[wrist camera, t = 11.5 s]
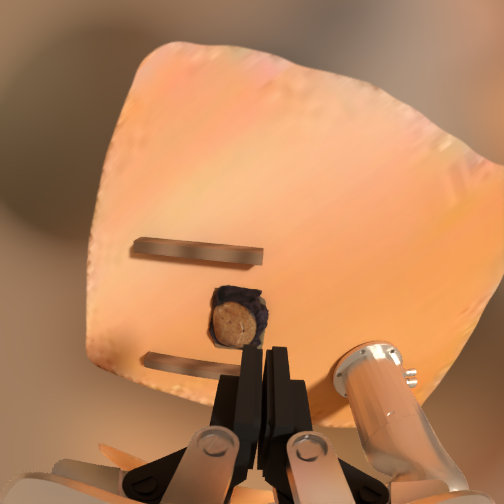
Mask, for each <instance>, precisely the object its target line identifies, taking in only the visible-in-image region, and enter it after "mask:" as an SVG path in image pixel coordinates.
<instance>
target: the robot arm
mask: <svg viewBox="0 0 504 504" xmlns="http://www.w3.org/2000/svg"><path fill="white" fill-rule="evenodd" d="M262 356H263V349H257V345H250V344H243V352H242V360H241V369H240V376H233V375H224V374H221V375H220V378H219V383H218V387H217V392H216V397H215V402H214V406H213V411H212V416H211V421H210V426H207V427H204V428H201V429H200V430H198V431H197V432H196V433H195V434H194V435H193V437H192V439H191V441H190V443H189V445H188V447H186V448H184V449H181V450H179V451H177V452H174V453H172V454H170V455H168V456H165V457H163V458H161V459H158V460H156V461H153V462H151V463H148V464H146V465H143V466H141V467H138V468H135V469H133V470H131V471H122V470H121V469H120V468H116V467H108V466H102V465H96V464H91V463H86V462H81V461H76V460H72V459H63V460H59V461H58V462H57V463H56V464H55V465H54V467H53V469H52V473H51V474H50V473H43V472H23V473H20V474H18V475H16V476H15V477H14V478H12V479H11V480H10V481H9V482H8V483H7V484H6V485H5V487H4V488H3V489H2V490H1V492H0V504H230V503H231V500H232V497H233V493H234V490H235V486H236V485H238V484H240V483H241V482H243V481H244V480H246V477H247V472H248V469H253V465H254V459H255V454H256V449H257V443H258V460H257V469H258V470H263V477H265V481H267V482H268V483H269V484H270V485H271V486H273V495H274V500H275V504H495V502H494V501H493V500H492V498H491V497H490V496H488V495H487V494H485V493H484V492H481V491H473V490H469V488H468V484H467V481H466V479H465V477H464V475H463V474H462V472H461V471H460V470H459V468H458V467H457V466H456V464H455V463H454V462H453V460H452V459H451V458H450V456H449V455H448V454H447V452H446V451H445V449H444V448H443V446H442V445H441V443H440V441H439V440H438V438H437V436H436V434H435V433H434V431H433V429H432V427H431V425H430V424H429V422H428V420H427V418H426V416H425V414H424V412H423V410H422V409H421V407H420V405H419V403H418V401H417V399H416V398H415V396H414V394H413V392H412V391H411V389H410V388H414V387H416V385H417V379H416V378H415V377H413V378H406V379H405V376H415V375H416V369H415V368H413V369H405V368H404V367H403V366H402V362H403V360H402V356H401V353H400V352H399V350H398V349H397V347H395V346H394V345H393V344H391V343H389V342H384V341H374V342H368V343H365V344H362V345H360V346H358V347H356V348H354V349H353V350H351V351H350V352H348V353H347V354H346V355H345V356H344V357H343V358H342V359H341V360H340V361H339V363H338V364H337V366H336V367H335V370H334V373H333V384H334V387H335V389H336V391H337V392H338V393H339V394H340V395H341V396H343V397H345V398H348V401H349V404H350V408H351V411H352V414H353V417H354V421H355V424H356V427H357V431H358V434H359V437H360V441H361V445H362V448H363V451H364V455H365V458H366V460H367V462H368V464H369V465H370V466H371V467H372V468H373V469H375V470H377V471H378V472H380V473H383V474H385V475H388V476H391V477H393V478H392V479H391V480H390V481H388V482H386V483H384V484H383V483H381V482H380V481H379V480H377V479H375V478H372V477H371V476H369V475H367V474H365V473H363V472H362V471H360V470H358V469H356V468H355V467H353V466H351V465H349V464H348V463H346V462H344V461H343V460H341V459H339V458H337V456H336V453H335V451H334V448H333V446H332V444H331V442H330V441H329V439H328V438H327V437H326V436H324V435H322V434H320V433H318V432H313V430H312V423H311V417H310V410H309V404H308V398H307V391H306V385H305V381H304V380H290V372H289V362H288V353H287V347H276V346H273V347H272V350H267V351H266V359H265V366H264V373H263V380H262Z"/></svg>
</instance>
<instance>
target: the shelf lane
mask: <svg viewBox="0 0 504 504" xmlns="http://www.w3.org/2000/svg"><path fill="white" fill-rule="evenodd" d="M134 252H137V253H146V254H155V255H164V256H174V257H183V258H193V259H202V260H212V261H222V262H232V263H242V264H252V265H262V261H263V248H254V247H244V246H233V245H223V244H212V243H202V242H191V241H180V240H170V239H159V238H148V237H140V238H138V239H136V240H135V241H134ZM144 366H145V367H147V368H151V369H156V370H161V371H166V372H172V373H177V374H183V375H189V376H195V377H202V378H208V379H216V380H219V378H220V375H221V374H224V375H233V376H240V369H241V365H232V364H223V363H215V362H208V361H201V360H194V359H188V358H181V357H175V356H170V355H164V354H159V353H154V352H148V354H147V355H146V357H145V359H144Z"/></svg>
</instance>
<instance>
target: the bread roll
mask: <svg viewBox="0 0 504 504" xmlns="http://www.w3.org/2000/svg"><path fill="white" fill-rule="evenodd" d="M261 293H262V291H261V290H258V289H248V288H240V287H237V286H230V285H227V286H221V287H220V288H215V290H214V292H213V301H212V318H211V322H210V328H209V331H210V334H211V336H212V337H213V339H214V345H215V346H216V347H217V348H226V349H238V350H243V344H250V345H257V349H262V345H263V340H264V333H265V328H266V326H267V320H268V315H269V314H268V310H267V308H266V302H265V300H264V299H263V298H262V297H260V295H261Z"/></svg>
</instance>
